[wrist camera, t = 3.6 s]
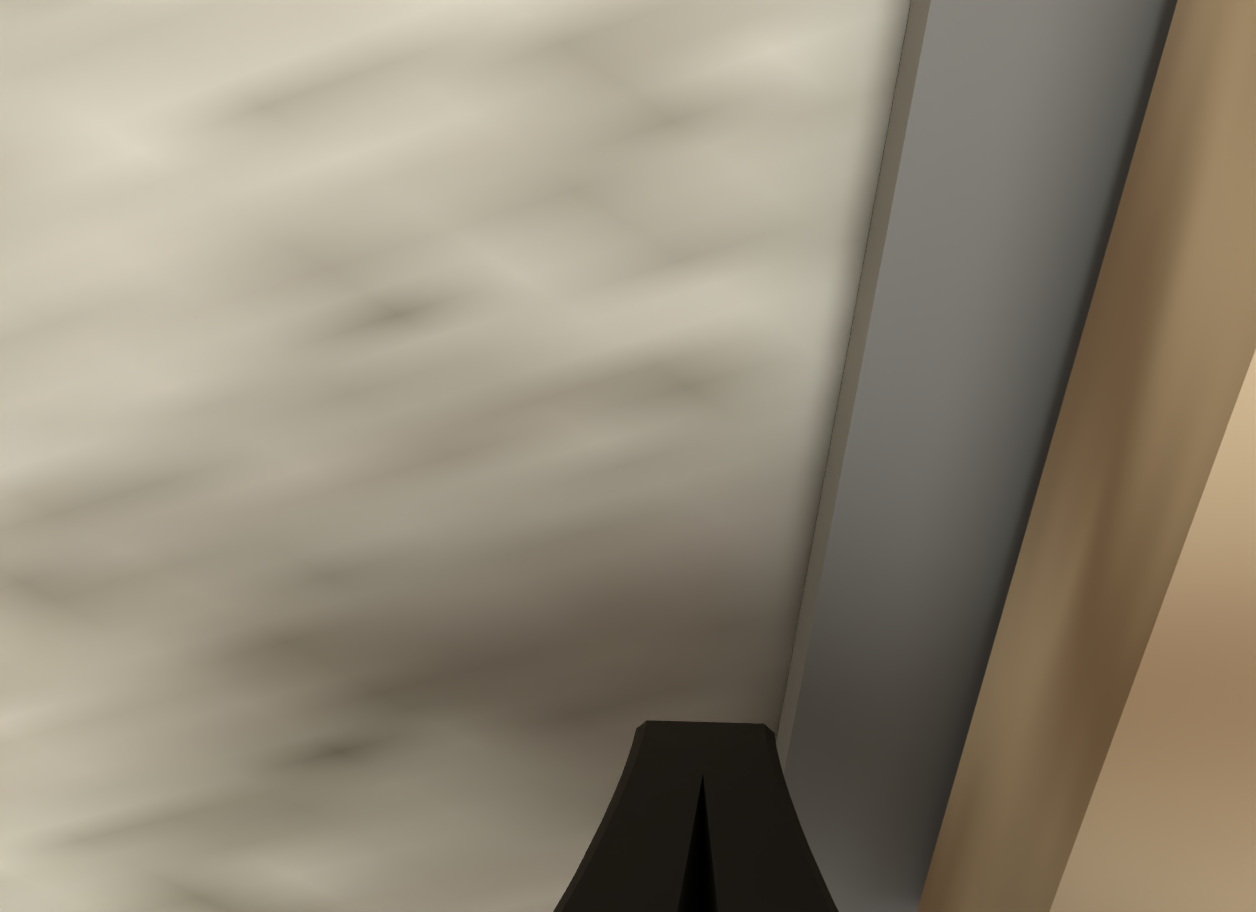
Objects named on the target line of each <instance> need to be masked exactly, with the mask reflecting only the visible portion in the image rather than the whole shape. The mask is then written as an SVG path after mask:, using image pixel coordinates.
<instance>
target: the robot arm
mask: <svg viewBox="0 0 1256 912" xmlns="http://www.w3.org/2000/svg"><path fill="white" fill-rule="evenodd" d="M553 912H839V911H838V909H837V907H836V905H835V903H834V901H833V899H832V897H831V894H830V892H829V890H828V888H827V885H826V883H825V881H824V879H823V876H822V874H821V872H820V870H819V867H818V865H817V863H816V861H815V858H814V856H813V854H812V852H811V849H810V847H809V845H808V842H807V840H806V837H805V835H804V832H803V830H802V827H801V824H800V822H799V819H798V816H797V813H796V811H795V808H794V805H793V802H792V800H791V797H790V794H789V791H788V788H787V784H786V781H785V778H784V775H783V771H782V767H781V764H780V760H779V755H778V751H777V746H776V741H775V733H774V732H773V731H772V730H770V729H769V728H768V727H767V726H766V725H765V724H751V723H717V722H683V721H648V720H647V721H646V722H644V723H643V724H642V725H640V726H639V727H638V728H637V729H636V732H635V736H634V740H633V744H632V747H631V750H630V753H629V756H628V759H627V762H626V765H625V768H624V770H623V773H622V776H621V778H620V781H619V783H618V786H617V788H616V790H615V793H614V795H613V797H612V799H611V802H610V804H609V806H608V808H607V811H606V813H605V815H604V818H603V820H602V822H601V824H600V826H599V828H598V830H597V832H596V834H595V836H594V838H593V840H592V842H591V844H590V846H589V848H588V850H587V851H586V853H585V855H584V857H583V859H582V861H581V863H580V865H579V867H578V869H577V871H576V873H575V875H574V877H573V879H572V881H571V882H570V884H569V886H568V888H567V889H566V891H565V893H564V894H563V896H562V898H561V900H560V901H559V903H558V905H557V906H556V908H555V910H554V911H553Z"/></svg>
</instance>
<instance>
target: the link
mask: <svg viewBox="0 0 1256 912" xmlns="http://www.w3.org/2000/svg"><path fill="white" fill-rule="evenodd" d="M917 912H1256V0H1178V1H1177V4H1176V8H1175V11H1174V15H1173V18H1172V22H1171V25H1170V29H1169V32H1168V36H1167V39H1166V43H1165V46H1164V50H1163V53H1162V57H1161V60H1160V64H1159V67H1158V71H1157V74H1156V78H1155V81H1154V85H1153V88H1152V92H1151V95H1150V99H1149V102H1148V106H1147V109H1146V113H1145V116H1144V120H1143V123H1142V127H1141V130H1140V134H1139V137H1138V141H1137V144H1136V147H1135V151H1134V154H1133V158H1132V161H1131V165H1130V168H1129V172H1128V175H1127V179H1126V182H1125V186H1124V189H1123V193H1122V196H1121V200H1120V203H1119V207H1118V210H1117V214H1116V217H1115V221H1114V224H1113V228H1112V231H1111V235H1110V238H1109V242H1108V245H1107V249H1106V252H1105V256H1104V259H1103V263H1102V266H1101V270H1100V273H1099V277H1098V280H1097V284H1096V287H1095V291H1094V294H1093V298H1092V301H1091V305H1090V308H1089V312H1088V315H1087V319H1086V322H1085V326H1084V329H1083V333H1082V336H1081V340H1080V343H1079V347H1078V350H1077V354H1076V357H1075V361H1074V364H1073V368H1072V371H1071V375H1070V378H1069V382H1068V385H1067V389H1066V392H1065V396H1064V399H1063V403H1062V406H1061V410H1060V413H1059V417H1058V420H1057V424H1056V427H1055V431H1054V434H1053V438H1052V441H1051V444H1050V448H1049V451H1048V455H1047V458H1046V462H1045V465H1044V469H1043V472H1042V476H1041V479H1040V483H1039V486H1038V490H1037V493H1036V497H1035V500H1034V504H1033V507H1032V511H1031V514H1030V518H1029V521H1028V525H1027V528H1026V532H1025V535H1024V539H1023V542H1022V546H1021V549H1020V553H1019V556H1018V560H1017V563H1016V567H1015V570H1014V574H1013V577H1012V581H1011V584H1010V588H1009V591H1008V595H1007V598H1006V602H1005V605H1004V609H1003V612H1002V616H1001V619H1000V623H999V626H998V630H997V633H996V637H995V640H994V644H993V647H992V651H991V654H990V658H989V661H988V665H987V668H986V672H985V675H984V679H983V682H982V686H981V689H980V693H979V696H978V700H977V703H976V707H975V710H974V714H973V717H972V721H971V724H970V728H969V731H968V735H967V738H966V741H965V745H964V748H963V752H962V755H961V759H960V762H959V766H958V769H957V773H956V776H955V780H954V783H953V787H952V790H951V794H950V797H949V801H948V804H947V808H946V811H945V815H944V818H943V822H942V825H941V829H940V832H939V836H938V839H937V843H936V846H935V850H934V853H933V857H932V860H931V864H930V867H929V871H928V874H927V878H926V881H925V885H924V888H923V892H922V895H921V899H920V902H919V906H918V909H917Z"/></svg>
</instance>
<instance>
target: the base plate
mask: <svg viewBox="0 0 1256 912" xmlns="http://www.w3.org/2000/svg"><path fill="white" fill-rule="evenodd" d="M1177 1H1178V0H911V5H910V11H909V16H908V22H907V27H906V33H905V38H904V44H903V49H902V55H901V60H900V66H899V71H898V77H897V82H896V88H895V93H894V99H893V104H892V110H891V115H890V121H889V126H888V132H887V137H886V142H885V148H884V153H883V159H882V164H881V170H880V175H879V181H878V186H877V192H876V197H875V203H874V208H873V214H872V219H871V225H870V230H869V236H868V241H867V247H866V252H865V258H864V263H863V269H862V274H861V280H860V285H859V290H858V296H857V301H856V307H855V312H854V318H853V323H852V329H851V334H850V340H849V345H848V351H847V356H846V362H845V367H844V373H843V378H842V384H841V389H840V395H839V400H838V406H837V411H836V417H835V422H834V427H833V433H832V438H831V444H830V449H829V455H828V460H827V466H826V471H825V477H824V482H823V488H822V493H821V499H820V504H819V510H818V515H817V521H816V526H815V532H814V537H813V543H812V548H811V554H810V559H809V565H808V570H807V575H806V581H805V586H804V592H803V597H802V603H801V608H800V614H799V619H798V625H797V630H796V636H795V641H794V647H793V652H792V658H791V663H790V669H789V674H788V680H787V685H786V691H785V696H784V702H783V707H782V713H781V718H780V723H779V729H778V734H777V740H776V746H777V751H778V755H779V760H780V764H781V767H782V771H783V775H784V778H785V781H786V784H787V788H788V791H789V794H790V797H791V800H792V802H793V805H794V808H795V811H796V813H797V816H798V819H799V822H800V824H801V827H802V830H803V832H804V835H805V837H806V840H807V842H808V845H809V847H810V849H811V852H812V854H813V856H814V858H815V861H816V863H817V865H818V867H819V870H820V872H821V874H822V876H823V879H824V881H825V883H826V885H827V888H828V890H829V892H830V894H831V897H832V899H833V901H834V903H835V905H836V907H837V909H838V911H839V912H917V909H918V906H919V902H920V899H921V895H922V892H923V888H924V885H925V881H926V878H927V874H928V871H929V867H930V864H931V860H932V857H933V853H934V850H935V846H936V843H937V839H938V836H939V832H940V829H941V825H942V822H943V818H944V815H945V811H946V808H947V804H948V801H949V797H950V794H951V790H952V787H953V783H954V780H955V776H956V773H957V769H958V766H959V762H960V759H961V755H962V752H963V748H964V745H965V741H966V738H967V735H968V731H969V728H970V724H971V721H972V717H973V714H974V710H975V707H976V703H977V700H978V696H979V693H980V689H981V686H982V682H983V679H984V675H985V672H986V668H987V665H988V661H989V658H990V654H991V651H992V647H993V644H994V640H995V637H996V633H997V630H998V626H999V623H1000V619H1001V616H1002V612H1003V609H1004V605H1005V602H1006V598H1007V595H1008V591H1009V588H1010V584H1011V581H1012V577H1013V574H1014V570H1015V567H1016V563H1017V560H1018V556H1019V553H1020V549H1021V546H1022V542H1023V539H1024V535H1025V532H1026V528H1027V525H1028V521H1029V518H1030V514H1031V511H1032V507H1033V504H1034V500H1035V497H1036V493H1037V490H1038V486H1039V483H1040V479H1041V476H1042V472H1043V469H1044V465H1045V462H1046V458H1047V455H1048V451H1049V448H1050V444H1051V441H1052V438H1053V434H1054V431H1055V427H1056V424H1057V420H1058V417H1059V413H1060V410H1061V406H1062V403H1063V399H1064V396H1065V392H1066V389H1067V385H1068V382H1069V378H1070V375H1071V371H1072V368H1073V364H1074V361H1075V357H1076V354H1077V350H1078V347H1079V343H1080V340H1081V336H1082V333H1083V329H1084V326H1085V322H1086V319H1087V315H1088V312H1089V308H1090V305H1091V301H1092V298H1093V294H1094V291H1095V287H1096V284H1097V280H1098V277H1099V273H1100V270H1101V266H1102V263H1103V259H1104V256H1105V252H1106V249H1107V245H1108V242H1109V238H1110V235H1111V231H1112V228H1113V224H1114V221H1115V217H1116V214H1117V210H1118V207H1119V203H1120V200H1121V196H1122V193H1123V189H1124V186H1125V182H1126V179H1127V175H1128V172H1129V168H1130V165H1131V161H1132V158H1133V154H1134V151H1135V147H1136V144H1137V141H1138V137H1139V134H1140V130H1141V127H1142V123H1143V120H1144V116H1145V113H1146V109H1147V106H1148V102H1149V99H1150V95H1151V92H1152V88H1153V85H1154V81H1155V78H1156V74H1157V71H1158V67H1159V64H1160V60H1161V57H1162V53H1163V50H1164V46H1165V43H1166V39H1167V36H1168V32H1169V29H1170V25H1171V22H1172V18H1173V15H1174V11H1175V8H1176V4H1177Z"/></svg>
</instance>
